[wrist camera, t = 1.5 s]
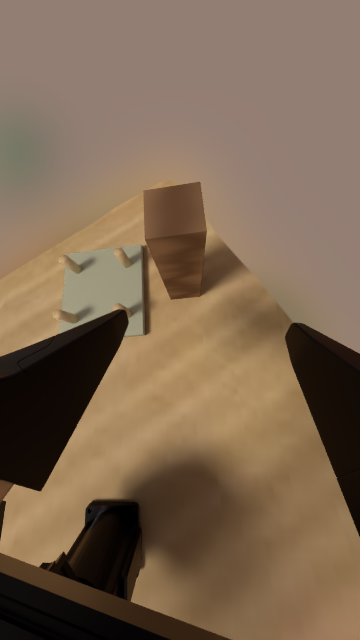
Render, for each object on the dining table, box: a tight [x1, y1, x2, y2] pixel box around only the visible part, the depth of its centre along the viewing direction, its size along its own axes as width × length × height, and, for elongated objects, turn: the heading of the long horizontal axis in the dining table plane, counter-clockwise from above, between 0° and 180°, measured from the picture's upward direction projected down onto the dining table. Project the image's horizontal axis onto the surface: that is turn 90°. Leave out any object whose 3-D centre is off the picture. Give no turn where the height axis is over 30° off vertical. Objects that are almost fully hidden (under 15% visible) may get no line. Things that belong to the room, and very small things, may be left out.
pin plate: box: [53, 244, 145, 337], centre depth 23 cm, size 13×15×4 cm
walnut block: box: [143, 182, 207, 299], centre depth 18 cm, size 4×4×13 cm
